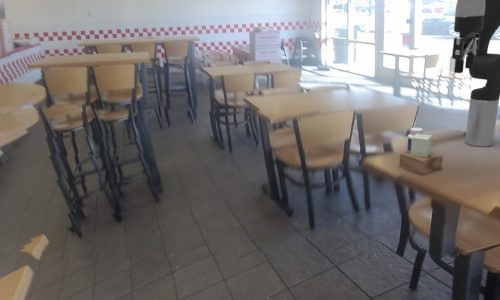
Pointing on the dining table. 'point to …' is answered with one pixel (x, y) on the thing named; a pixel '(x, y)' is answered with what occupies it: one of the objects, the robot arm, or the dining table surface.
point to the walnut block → (420, 162)
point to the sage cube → (421, 145)
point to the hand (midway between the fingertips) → (463, 70)
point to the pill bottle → (413, 132)
